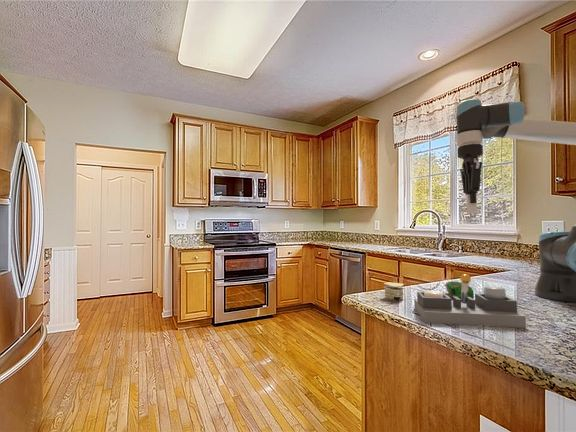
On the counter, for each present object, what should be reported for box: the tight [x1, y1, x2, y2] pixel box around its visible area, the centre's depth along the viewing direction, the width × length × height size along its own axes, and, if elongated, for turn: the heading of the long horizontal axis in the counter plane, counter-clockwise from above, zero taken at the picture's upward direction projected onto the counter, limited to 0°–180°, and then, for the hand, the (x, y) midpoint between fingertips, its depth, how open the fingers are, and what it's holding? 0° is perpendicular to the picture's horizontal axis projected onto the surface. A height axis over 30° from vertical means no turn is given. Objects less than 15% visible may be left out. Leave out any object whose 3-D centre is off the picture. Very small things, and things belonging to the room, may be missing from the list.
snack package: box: [444, 281, 475, 299], centre depth 108 cm, size 7×16×5 cm, turn 161°
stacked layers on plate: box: [383, 281, 405, 301], centre depth 107 cm, size 10×9×6 cm
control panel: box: [413, 291, 527, 329], centre depth 86 cm, size 24×14×6 cm, turn 78°
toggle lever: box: [459, 273, 472, 304], centre depth 84 cm, size 3×3×8 cm
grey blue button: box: [483, 285, 507, 300], centre depth 84 cm, size 5×5×3 cm
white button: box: [423, 290, 444, 298], centre depth 87 cm, size 5×5×3 cm
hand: (471, 213), depth 104 cm, fingers closed
